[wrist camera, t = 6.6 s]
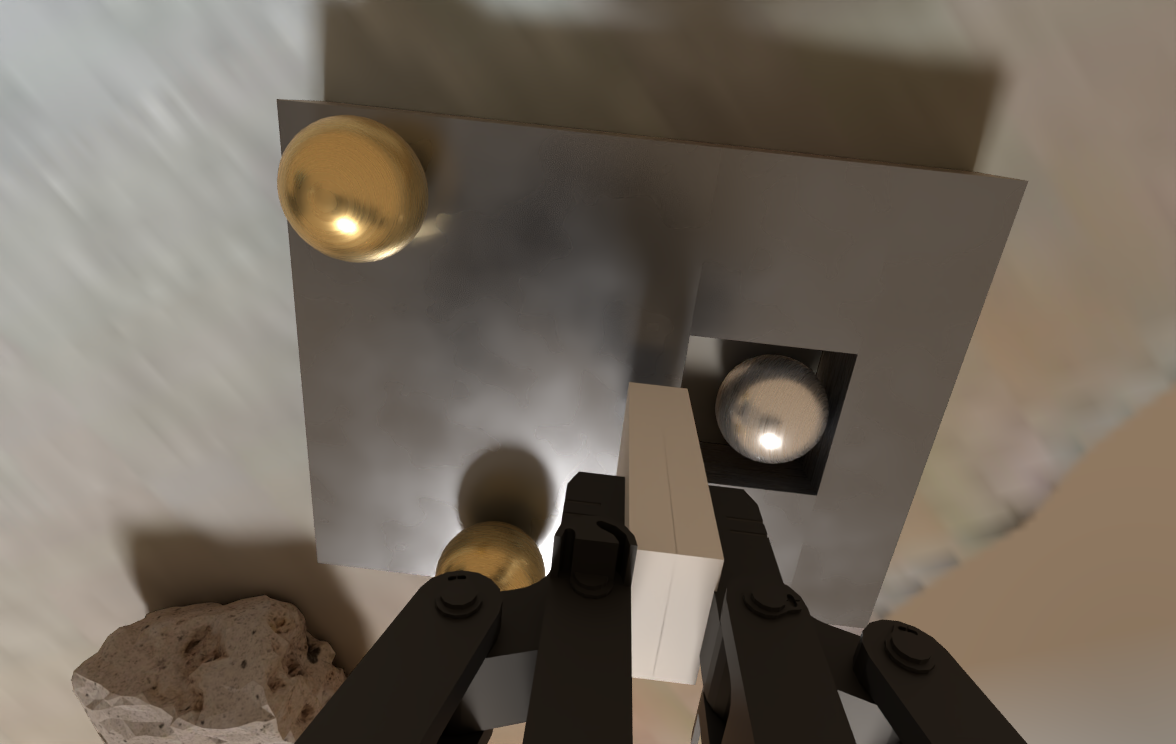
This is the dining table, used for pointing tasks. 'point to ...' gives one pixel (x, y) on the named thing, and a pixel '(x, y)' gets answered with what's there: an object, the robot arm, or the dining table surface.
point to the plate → (633, 333)
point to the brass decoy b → (495, 555)
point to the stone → (209, 676)
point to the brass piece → (352, 188)
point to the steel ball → (772, 409)
